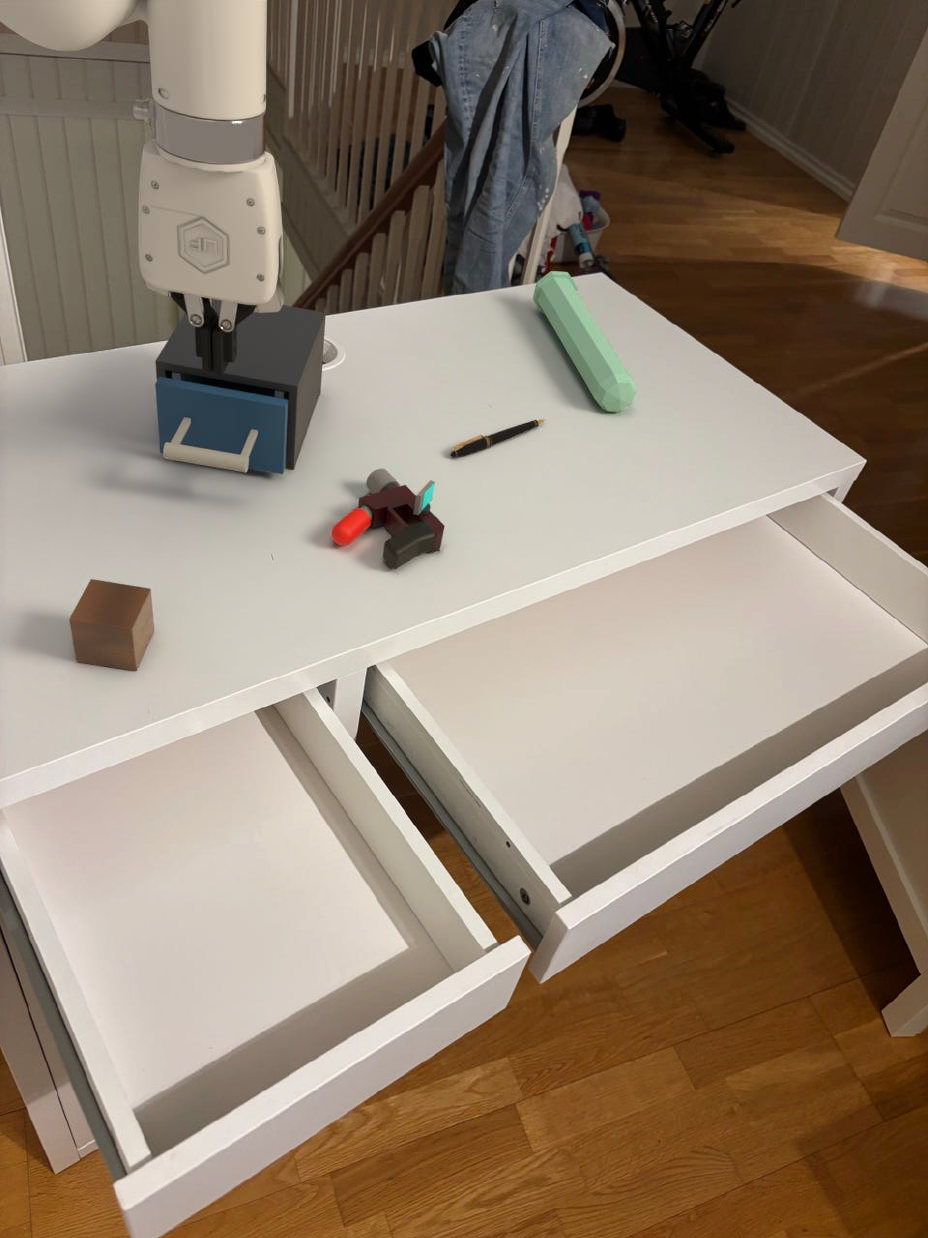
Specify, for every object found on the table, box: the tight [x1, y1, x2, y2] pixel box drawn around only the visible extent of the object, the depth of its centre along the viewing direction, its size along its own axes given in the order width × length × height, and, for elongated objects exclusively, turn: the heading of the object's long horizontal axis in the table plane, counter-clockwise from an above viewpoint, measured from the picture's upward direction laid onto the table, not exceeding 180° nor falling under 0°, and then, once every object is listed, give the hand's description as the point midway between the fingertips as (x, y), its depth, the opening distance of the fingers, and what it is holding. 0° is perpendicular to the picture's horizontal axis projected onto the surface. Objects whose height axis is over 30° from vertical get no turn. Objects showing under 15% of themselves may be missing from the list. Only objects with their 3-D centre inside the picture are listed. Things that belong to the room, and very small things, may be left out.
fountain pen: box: [449, 418, 547, 458], centre depth 99 cm, size 14×1×2 cm, turn 132°
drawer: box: [154, 371, 289, 475], centre depth 87 cm, size 19×11×7 cm, turn 176°
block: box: [68, 578, 155, 672], centre depth 69 cm, size 4×4×4 cm
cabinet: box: [154, 299, 327, 470], centre depth 92 cm, size 15×13×9 cm
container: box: [532, 270, 638, 412], centre depth 113 cm, size 6×6×25 cm
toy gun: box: [330, 468, 445, 570], centre depth 84 cm, size 10×12×5 cm
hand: (217, 365), depth 78 cm, fingers closed
